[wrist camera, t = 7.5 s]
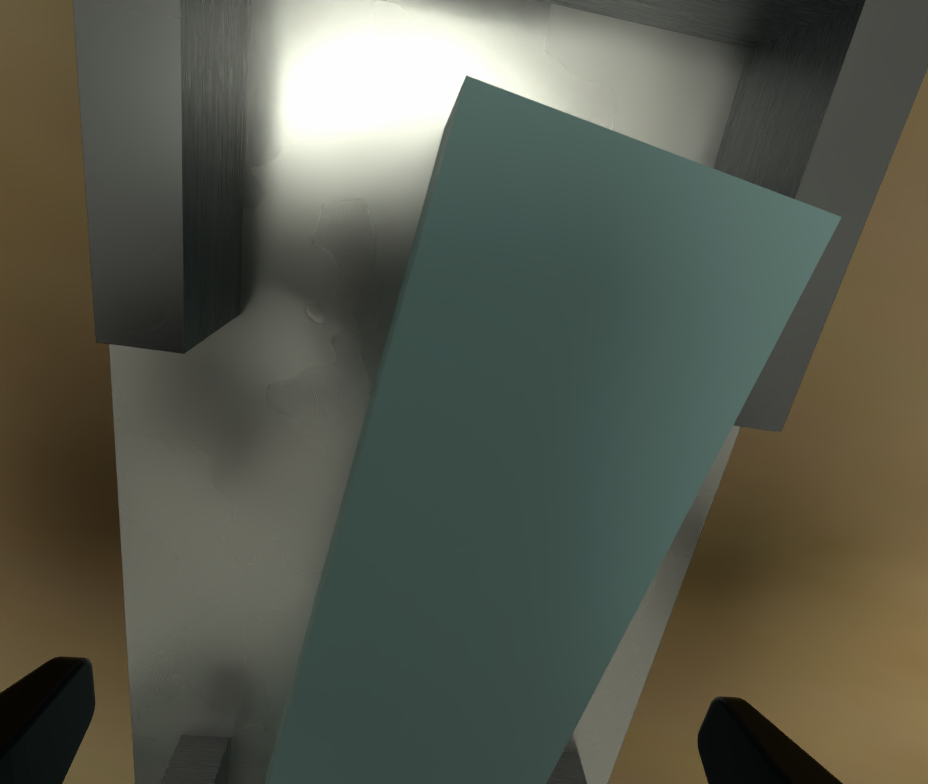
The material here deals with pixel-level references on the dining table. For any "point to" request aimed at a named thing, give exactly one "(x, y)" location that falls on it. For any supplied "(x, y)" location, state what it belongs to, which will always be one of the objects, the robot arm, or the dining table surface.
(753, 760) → the robot arm
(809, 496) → the dining table surface
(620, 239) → the rail
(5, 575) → the dining table surface
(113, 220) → the cup bracket
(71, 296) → the dining table surface
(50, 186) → the dining table surface
